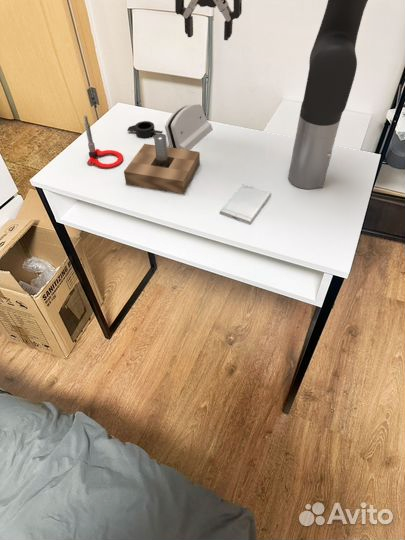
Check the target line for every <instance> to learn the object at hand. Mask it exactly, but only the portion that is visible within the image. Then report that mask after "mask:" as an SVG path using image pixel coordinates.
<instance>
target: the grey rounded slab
mask: <svg viewBox="0 0 405 540" xmlns="http://www.w3.org/2000/svg"><path fill="white" fill-rule="evenodd" d="M164 128H165V129H164V130H165V132H166V134H165V135H166V138H167V140H168V145H169V147H170V148H177V149H183V150H190V151H191V150H192V148H193V147H195V146H196V145H197V144H198V143H199V142H201V140H203V139H205V137H207V135H208V134H210V132H212V131H213V126H212V124H211V123H210V122H209V121H208V119H207V117H206V114H205V111H204V109H203V105H201V104H198V103H196V104H195V103H193V104H192V103H191V104H188V105H184V106H182V107H180V108H179V109H177V110H175V111H174V112H173V113H172V114H171V115H170V117H169V118H168V120H167V121H166V122H165V124H164Z"/></svg>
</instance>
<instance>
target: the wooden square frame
mask: <svg viewBox="0 0 405 540" xmlns="http://www.w3.org/2000/svg"><path fill="white" fill-rule="evenodd" d="M167 154H168V166H169V168H165V167H159V166H157V160H156V151H155V144H150V143H149V144H148V143H144V144H143V145H142V146H141V148H139V150H138V152H137V153H136V154H135V156H134V157H133V158H132V160H131V161H130V162H129V164H128V165H127V166H126V168H125V169H124V171H123V174H124V179H125V185H127V186H133V187H140V188H144V189H150V190H156V191H160V192H161V191H162V192H165V193H166V192H167V193H171V194H179V195H185V193H186V192H187V190H188V187H189V186H190V185H191V182H192V180H193V178H194V176H195V175H196V173H197V171H198V169H199V167H200V165H201V162H200V161H201V160H200V156H201V155H200V154H201V153H200V151H195V150H191V149H190V150H183V149H177V148H170V146H167Z"/></svg>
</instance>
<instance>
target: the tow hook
mask: <svg viewBox="0 0 405 540" xmlns="http://www.w3.org/2000/svg"><path fill="white" fill-rule="evenodd" d="M83 118H84V119H83V120H84V126H85V127H84V128H85V131H86V138H87V141H88V143H87V145H88V149H89V150H88V151H89V152H88V157H89V159H88V160H87V162H86V165H88V166H89V167H92V166H95V167H96V168H98V169H99V168H100V169H103V170H112V169H115V168H118V167H120V166H121V165H122V164H123V162H124V155H123V154H122V153H121V152H119V151H117V150H113V149H108V150H107V149H106V150H101V149H99V148H96V146H95V142H94V139H93V136H92V135H93V134H92V131H91V125H90V123H89V120H88V116H87V115H83ZM105 156H114V157H116V158H117V160H116V161H114V162H112V163H103V162H101V161H100V160H99V159H98V158H99V157H100V158H102V157H105Z"/></svg>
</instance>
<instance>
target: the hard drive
mask: <svg viewBox="0 0 405 540" xmlns="http://www.w3.org/2000/svg"><path fill="white" fill-rule="evenodd" d="M271 196H272V193H271V192H270V191H267V190H264V189H261V188H258V187H254V186H252V185H248V184H244V183H241V185H240V186H239V187H238V188H237V190H236V191H235V192H234V193H233V194H232V196H231V197H230V198H229V199H228V200H227V202H226V203H225V204H224V205H223V207H222V208H221V209H220V210H219V212H218V213H219V215H221V216H224V217H228V218H230V219H233V220H235V221H239V222H241V223H244V224H246V225H251V224H252V223H253V221H254V220H255V219H256V217H257V216H258V215H259V214H260V212H261V211H262V209H263V208H264V206H265V205H266V204H267V202H268V201H269V199H270V198H271Z"/></svg>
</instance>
